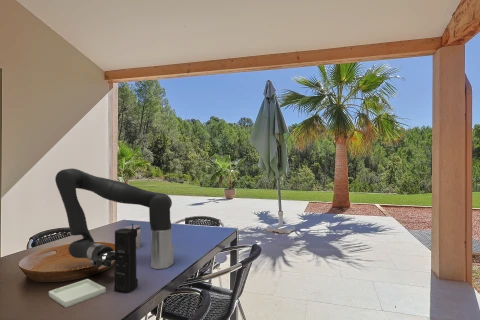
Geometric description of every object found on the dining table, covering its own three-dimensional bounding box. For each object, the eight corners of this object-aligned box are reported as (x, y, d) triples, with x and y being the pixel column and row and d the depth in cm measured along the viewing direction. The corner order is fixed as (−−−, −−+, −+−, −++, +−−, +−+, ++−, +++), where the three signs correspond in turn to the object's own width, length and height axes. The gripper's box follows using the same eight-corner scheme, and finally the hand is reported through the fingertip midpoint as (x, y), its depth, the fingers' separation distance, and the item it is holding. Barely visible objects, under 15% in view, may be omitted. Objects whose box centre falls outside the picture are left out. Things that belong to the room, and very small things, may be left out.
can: (133, 251, 160) (133, 229, 160) (114, 250, 162) (114, 228, 162) (144, 245, 171) (144, 224, 171) (126, 244, 173) (126, 224, 173)
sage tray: (87, 283, 120) (87, 278, 120) (105, 292, 111) (105, 287, 111) (48, 296, 109) (48, 291, 109) (65, 307, 100) (65, 302, 100)
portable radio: (110, 290, 113) (110, 224, 112) (122, 284, 118) (121, 221, 118) (127, 293, 110) (126, 226, 110) (138, 287, 115) (137, 222, 115)
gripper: (82, 248, 120) (102, 256, 110) (115, 240, 131) (137, 247, 121) (82, 267, 120) (103, 277, 110) (116, 257, 131) (137, 265, 121)
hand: (120, 261), depth 115 cm, fingers open, 8 cm apart
